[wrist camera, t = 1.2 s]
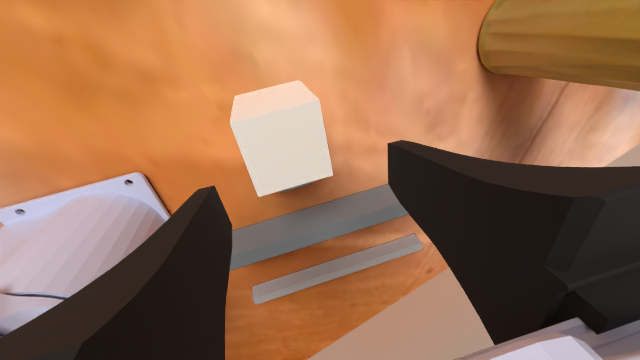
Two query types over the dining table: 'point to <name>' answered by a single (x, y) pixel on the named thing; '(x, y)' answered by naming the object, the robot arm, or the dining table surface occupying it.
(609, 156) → the dining table surface
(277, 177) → the cabinet block
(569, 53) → the vase
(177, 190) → the dining table surface
